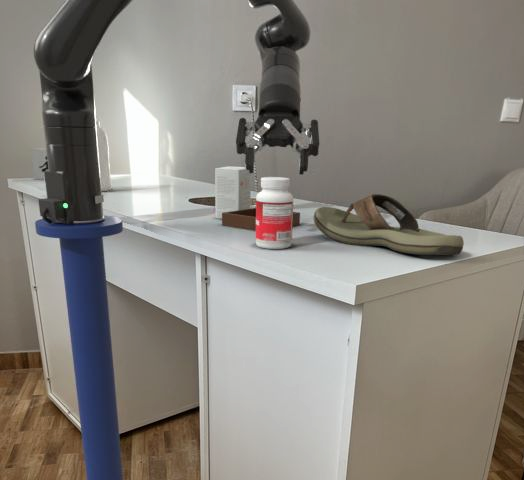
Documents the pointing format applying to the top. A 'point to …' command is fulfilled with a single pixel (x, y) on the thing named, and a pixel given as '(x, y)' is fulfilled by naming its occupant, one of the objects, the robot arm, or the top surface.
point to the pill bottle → (274, 214)
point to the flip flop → (384, 228)
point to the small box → (232, 189)
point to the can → (103, 157)
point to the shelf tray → (248, 219)
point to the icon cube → (39, 162)
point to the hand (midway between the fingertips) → (276, 170)
